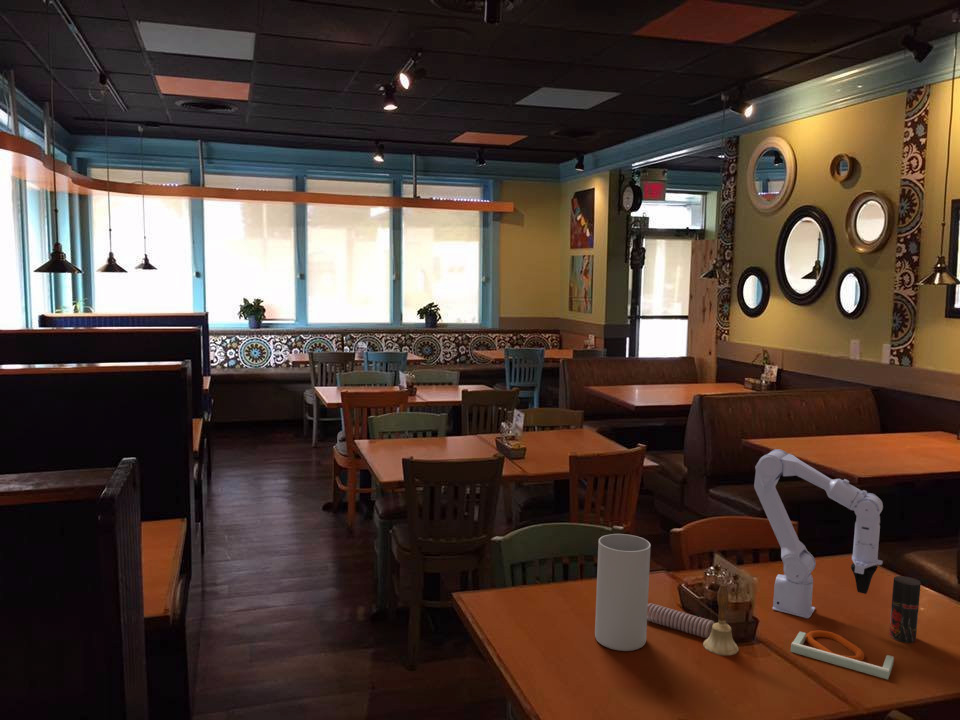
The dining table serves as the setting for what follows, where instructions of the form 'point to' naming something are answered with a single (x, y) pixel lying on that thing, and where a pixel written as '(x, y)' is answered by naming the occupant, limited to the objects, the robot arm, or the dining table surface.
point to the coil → (679, 620)
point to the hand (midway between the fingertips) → (862, 592)
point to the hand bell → (721, 629)
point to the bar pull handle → (841, 658)
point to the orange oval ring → (836, 637)
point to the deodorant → (904, 609)
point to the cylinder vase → (622, 591)
